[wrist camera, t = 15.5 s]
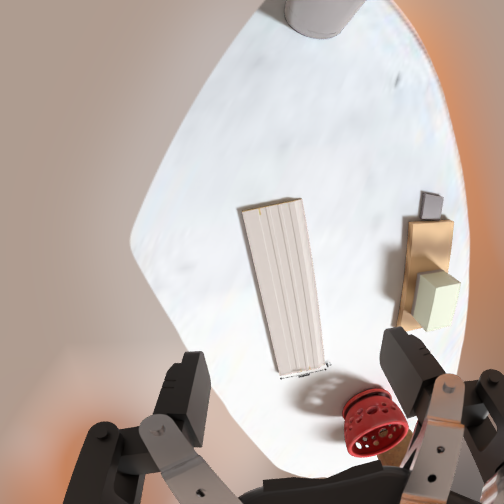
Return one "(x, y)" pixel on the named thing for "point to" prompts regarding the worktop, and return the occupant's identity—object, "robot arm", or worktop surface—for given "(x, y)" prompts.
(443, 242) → the oak board
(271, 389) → the worktop surface
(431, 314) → the block
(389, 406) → the plant pot
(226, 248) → the worktop surface
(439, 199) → the gray square tile
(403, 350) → the robot arm
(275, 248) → the baseboard
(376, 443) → the block
